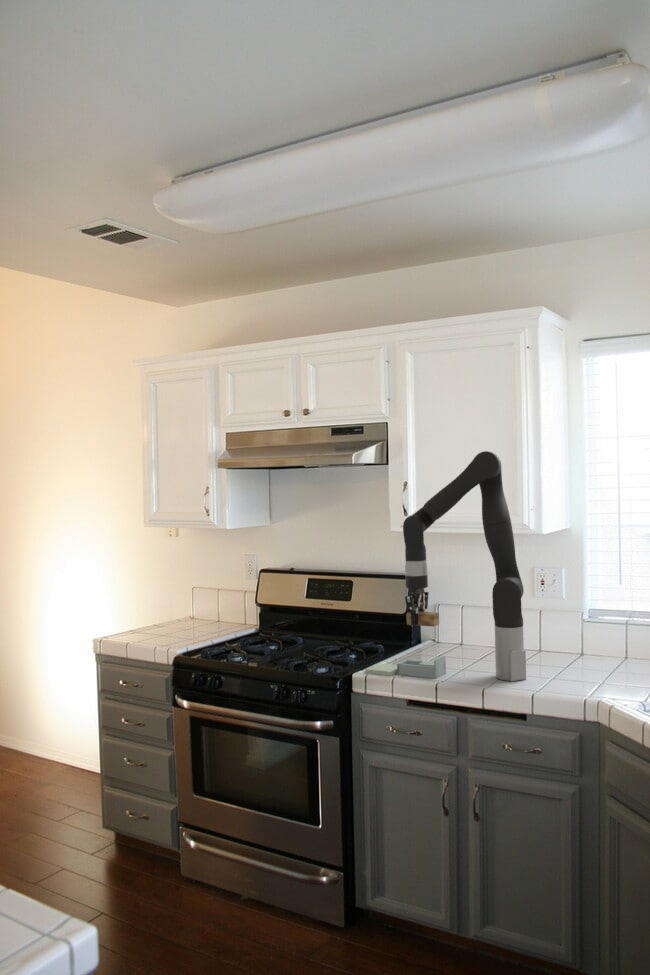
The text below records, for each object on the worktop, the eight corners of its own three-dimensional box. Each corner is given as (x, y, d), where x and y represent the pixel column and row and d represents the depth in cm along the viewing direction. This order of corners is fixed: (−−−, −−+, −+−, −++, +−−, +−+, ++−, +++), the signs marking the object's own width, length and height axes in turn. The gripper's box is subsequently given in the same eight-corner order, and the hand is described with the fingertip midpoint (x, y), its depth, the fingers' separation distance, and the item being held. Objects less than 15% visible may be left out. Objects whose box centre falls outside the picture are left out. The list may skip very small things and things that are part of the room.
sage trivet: (404, 669, 292) (404, 666, 292) (391, 675, 283) (391, 671, 283) (378, 666, 297) (378, 663, 297) (365, 672, 289) (365, 669, 289)
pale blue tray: (445, 673, 284) (445, 655, 284) (436, 678, 278) (435, 660, 278) (407, 669, 292) (406, 652, 292) (397, 674, 285) (396, 656, 285)
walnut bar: (439, 624, 283) (439, 612, 283) (433, 626, 280) (433, 614, 280) (412, 622, 289) (412, 611, 289) (406, 624, 285) (406, 612, 285)
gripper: (417, 576, 277) (418, 628, 277) (435, 571, 289) (436, 621, 289) (396, 575, 281) (398, 626, 281) (415, 571, 293) (417, 620, 293)
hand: (418, 623), depth 285 cm, fingers closed on walnut bar, 4 cm apart
